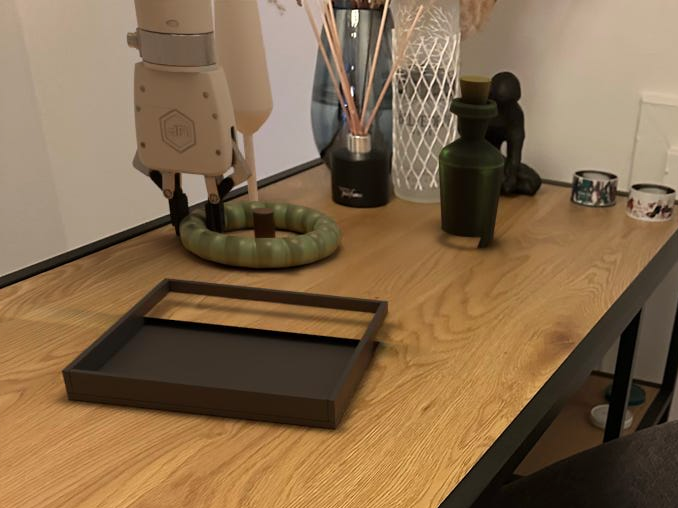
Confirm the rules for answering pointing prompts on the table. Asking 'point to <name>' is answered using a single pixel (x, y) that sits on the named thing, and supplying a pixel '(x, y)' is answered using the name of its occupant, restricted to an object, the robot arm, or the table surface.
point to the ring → (262, 251)
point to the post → (263, 223)
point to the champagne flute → (244, 71)
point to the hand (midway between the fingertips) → (199, 233)
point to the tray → (226, 361)
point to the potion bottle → (471, 166)
